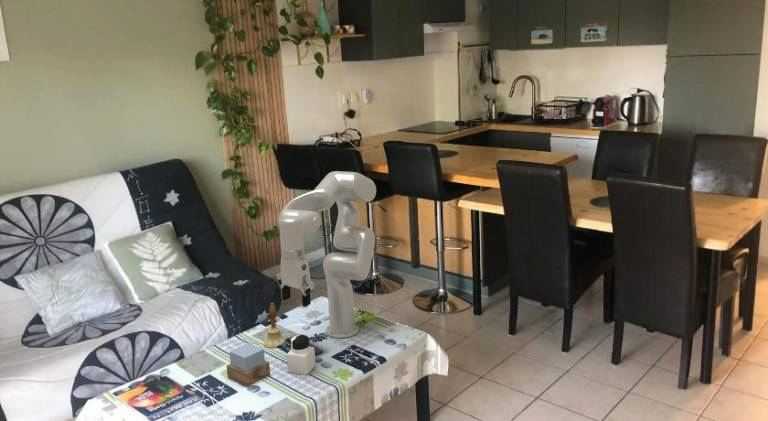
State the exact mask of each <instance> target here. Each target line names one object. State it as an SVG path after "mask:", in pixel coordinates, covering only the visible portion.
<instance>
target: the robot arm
mask: <svg viewBox="0 0 768 421" xmlns="http://www.w3.org/2000/svg"><path fill="white" fill-rule="evenodd" d="M376 193H377V186H376V184H375V182H374V181H373V180H372V179H370V178H369V177H367V176H365V175H364V174H361V173H359V172H356V171H355V172H354V171H344V170H343V171H339V170H335V171H331V172H329V173H328V174H326V175H325V176H324V178H323V179H322V180H321V181H320V182H319V184H318V185H317V186H316V187H315V188H314V189H313V190H311V191H309V192H307V193H304V194H302V195H301V194H300V195H299V196H297V197H295V198H293V199H292V200H290V201H289V202H288V203H287V204H286V205H285V206H284V207H283V208H282V210H281V211H280V214H279V215H278V226H279V234H280V235H279V236H280V237H279V238H280V252H281V258H280V272H277V273H276V279H277V280H278V281H277V282H278V284H279V285H280V286H279V287H280V289H281V295H282V298H281V299H282V301H286V300H289V299H291V288H294V289H299V290H300V292H301V294H302V295H301V305H302V307H303V308H305V307H308V306H310V305H311V304H312V303H311V294H312V292H313V291H314V288H315V282H314V281H313V280H311V274H310V273H311V272H310V266H309V262H308V259H307V257H306V253H305V236H306V235H312V234H314V233H316V232H317V231H318V230H319V229H320V227H321V225H322V217H321V215H320V214H319V213H320V212H322V211H323V212H324V211H327V210H329V209H330V208H332V207H333V206H334V204H335V203H336V205H337V210H338V212H337V213H338V214H337V219H336V223H335V224H336V225H335V227H334V233H333V239H332V244H333V246H334V247H335V248H336V249H338V250H339V251H340V250H341V251H348V252H356V253H348V252H347V253H345V252H330V253H328V254H327V255H326V256H325V257H324V258H323V262H322V265H323V266H322V267H323V271H324V272H323V273H324V276H325V279H326V280H325V282H326V289H327V290H326V291H327V301H328V302H327V303H328V321H329V325H328V326H327V327H326V328H325V333H326V335H327V336H328V337H331V338H334V339H335V338H336V339H346V338H350V337H351V338H352V337H353V336H355V335H356V334H358V332H359V330H360V329H359V326H358V324H357V323H358V322H359V321H361V320H362V319H363V316H362V315H361V314H358V315H357V316H355V313H354V312H355V309H354V289H353V285H352V283H351V280H352V281H359V282H360V281H364V280H366V279H367V277H368V276H369V272H370V269H371V264H372V258H373V254H374V250H375V245H376V244H375V243H376V236H375V233H374V231H373V229H371V228H370V227H366V226H359V225H360V220H361V212H360V210H359V208H358V205H356V202H362V203H363V202H364V203H369V202H371V201H373V200H374V199H375V197H376V195H377V194H376Z"/></svg>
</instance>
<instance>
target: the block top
mask: <svg viewBox="0 0 768 421" xmlns="http://www.w3.org/2000/svg"><path fill="white" fill-rule="evenodd" d="M229 359H230V363H231V366H234V367H236V368H238V369H240V370H243V371H245V372H247V371H249V370H251V369H253V368H255V367H257V366H259V365H261V364H263V363H265V361H266V359H265V350H264V348H263V347H260V346H258V345H254V344H253V343H250V342H247V343H244V344H242V345H240V346H239V347H236V348H234V349H232V350H229Z"/></svg>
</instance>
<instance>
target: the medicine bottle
mask: <svg viewBox="0 0 768 421" xmlns="http://www.w3.org/2000/svg"><path fill="white" fill-rule="evenodd" d="M309 338H310V337H309V336H308V335H305V334H297V335H294V336H292V338H290V346H291V349H290V350H289V351H288V352H287V354H286V360H287V372H288V373H290V374H295V375H297V374H298V375H303V376H308V374H309V373H310V372H311V371H312V370H313V369H314V368H315V367H316V353H315V352H316V351H315V347H313V346H310V339H309Z"/></svg>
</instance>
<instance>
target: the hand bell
mask: <svg viewBox="0 0 768 421" xmlns="http://www.w3.org/2000/svg"><path fill="white" fill-rule="evenodd" d="M269 304H270V305H269V309H268V315H269V317H270V328H269V329H267V336H266V339H265V340H264V342H263V346H264V347H265V348H269V349H276V348H275V347H277V346H279V345H280V344H282V343H283V342H284V341H285V340H286V339H285V338H284V337H283V336H282V333H281V330H280V328H279V327H277V325H276V324H277V323H276V316H277V308H276V306H275V302H270V303H269ZM277 348H278V347H277Z"/></svg>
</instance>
